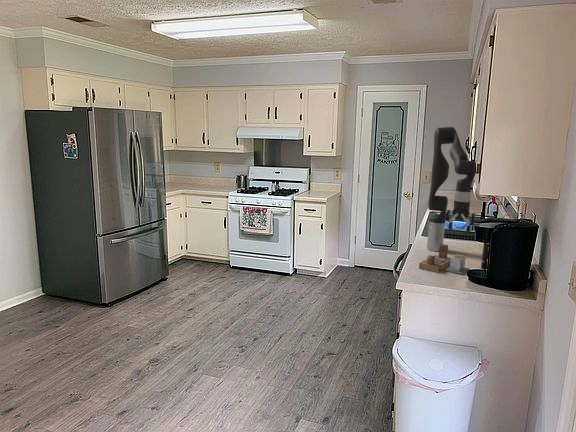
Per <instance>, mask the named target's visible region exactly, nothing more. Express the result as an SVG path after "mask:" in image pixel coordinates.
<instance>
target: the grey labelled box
mask: <svg viewBox="0 0 576 432" xmlns="http://www.w3.org/2000/svg"><path fill="white" fill-rule="evenodd" d="M454 255H455V256H452V257H450V258H451V259H450V266H449V267H450V269H449V270H454V271H458V272H460V271H461V270H463V269H464V268H465V267H466V259H467V258H466V256H465V254H458V253H456V254H454Z"/></svg>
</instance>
